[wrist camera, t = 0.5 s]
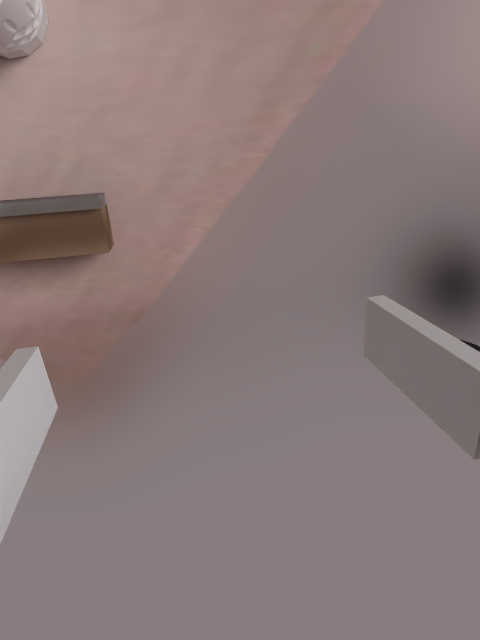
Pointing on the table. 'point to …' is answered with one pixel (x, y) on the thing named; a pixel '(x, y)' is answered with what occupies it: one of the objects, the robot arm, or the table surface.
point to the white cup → (22, 26)
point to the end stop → (54, 227)
